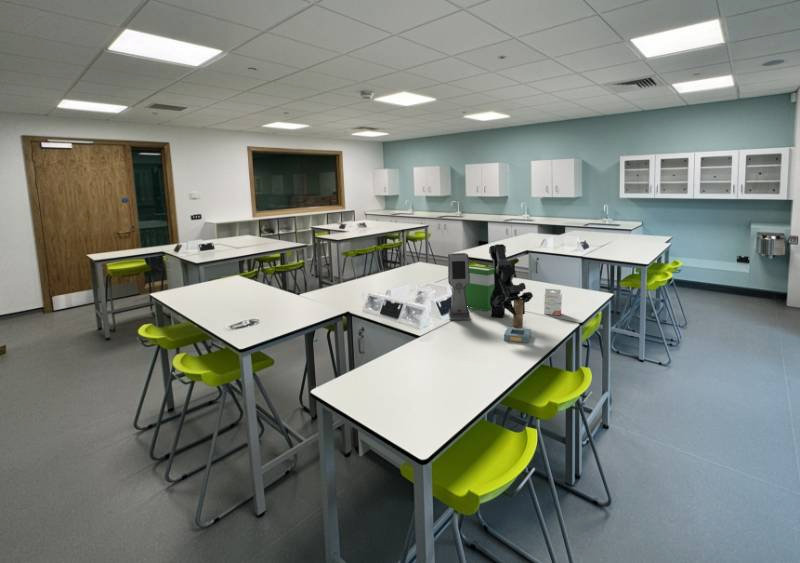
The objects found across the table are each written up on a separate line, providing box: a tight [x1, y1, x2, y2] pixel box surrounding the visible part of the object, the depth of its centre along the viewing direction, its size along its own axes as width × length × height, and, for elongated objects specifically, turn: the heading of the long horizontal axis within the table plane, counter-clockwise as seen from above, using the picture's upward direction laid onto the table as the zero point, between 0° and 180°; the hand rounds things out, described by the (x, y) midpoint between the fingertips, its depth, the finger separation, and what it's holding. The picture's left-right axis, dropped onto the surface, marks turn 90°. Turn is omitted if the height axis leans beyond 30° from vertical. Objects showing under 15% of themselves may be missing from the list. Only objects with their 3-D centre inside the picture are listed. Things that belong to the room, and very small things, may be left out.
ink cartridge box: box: [543, 288, 563, 316], centre depth 238 cm, size 9×5×15 cm, turn 62°
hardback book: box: [466, 264, 494, 312], centre depth 255 cm, size 18×7×24 cm, turn 47°
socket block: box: [503, 326, 532, 344], centre depth 206 cm, size 11×11×3 cm
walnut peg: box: [512, 299, 524, 329], centre depth 204 cm, size 4×4×13 cm
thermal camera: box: [447, 252, 471, 321], centre depth 237 cm, size 12×13×35 cm
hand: (519, 314), depth 202 cm, fingers closed on walnut peg, 4 cm apart
